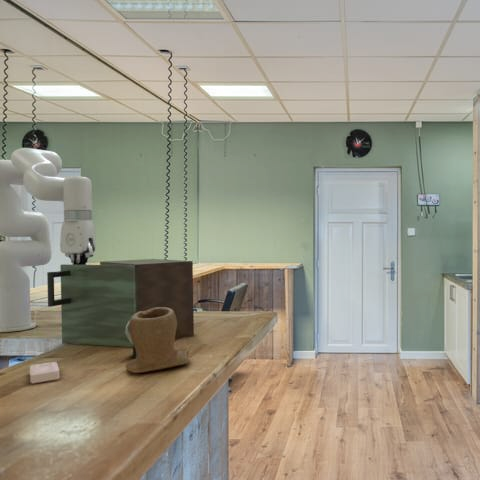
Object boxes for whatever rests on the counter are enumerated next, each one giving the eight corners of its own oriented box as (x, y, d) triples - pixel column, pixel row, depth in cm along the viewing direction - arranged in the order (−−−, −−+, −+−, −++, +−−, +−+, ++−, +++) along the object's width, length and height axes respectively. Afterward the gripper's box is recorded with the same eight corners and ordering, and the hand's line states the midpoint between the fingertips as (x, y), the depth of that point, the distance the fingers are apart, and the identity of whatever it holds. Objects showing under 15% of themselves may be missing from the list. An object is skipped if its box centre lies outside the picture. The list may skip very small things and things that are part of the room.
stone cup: (129, 381, 104) (128, 315, 103) (123, 368, 114) (122, 308, 113) (198, 369, 112) (197, 308, 112) (187, 358, 122) (186, 302, 122)
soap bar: (30, 384, 102) (30, 373, 102) (29, 374, 109) (29, 364, 109) (59, 380, 105) (59, 369, 105) (56, 370, 112) (56, 360, 112)
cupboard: (138, 346, 136) (136, 264, 135) (101, 335, 152) (99, 261, 152) (193, 335, 149) (192, 261, 149) (154, 326, 166) (153, 258, 166)
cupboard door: (116, 353, 128) (114, 266, 128) (41, 348, 135) (39, 266, 134) (136, 346, 135) (135, 264, 135) (64, 342, 142) (63, 264, 142)
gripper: (49, 217, 141) (50, 276, 142) (84, 215, 136) (86, 277, 136) (72, 217, 148) (73, 274, 149) (106, 216, 143) (107, 275, 143)
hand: (79, 275), depth 142 cm, fingers closed
